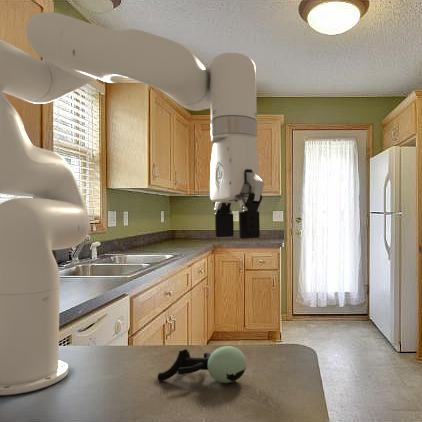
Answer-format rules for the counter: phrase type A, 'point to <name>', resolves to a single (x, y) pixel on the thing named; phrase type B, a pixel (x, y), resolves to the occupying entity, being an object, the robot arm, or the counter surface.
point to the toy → (210, 364)
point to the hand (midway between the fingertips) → (236, 237)
